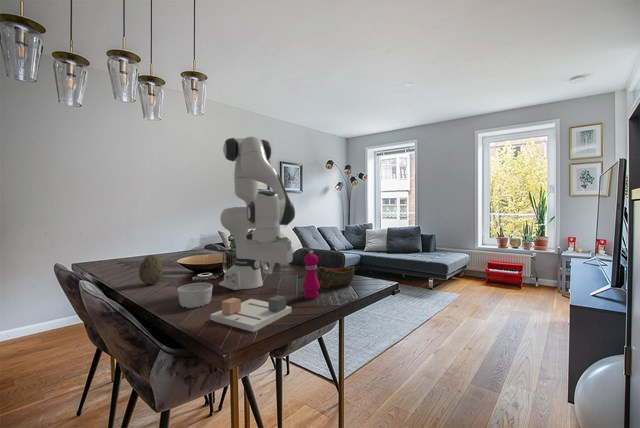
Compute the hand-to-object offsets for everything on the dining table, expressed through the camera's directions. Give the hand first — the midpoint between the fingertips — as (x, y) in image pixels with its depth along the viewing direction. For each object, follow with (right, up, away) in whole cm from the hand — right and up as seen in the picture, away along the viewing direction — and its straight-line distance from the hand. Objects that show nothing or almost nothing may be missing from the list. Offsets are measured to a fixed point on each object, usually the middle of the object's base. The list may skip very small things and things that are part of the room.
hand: (267, 273), depth 110 cm
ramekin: (-31, -15, +12) cm, 37 cm away
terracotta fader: (-12, -13, -4) cm, 18 cm away
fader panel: (-5, -15, -2) cm, 16 cm away
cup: (+26, -14, +36) cm, 46 cm away
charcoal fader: (+4, -12, -2) cm, 13 cm away
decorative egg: (-67, -15, +44) cm, 82 cm away
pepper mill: (+15, -14, +20) cm, 29 cm away
